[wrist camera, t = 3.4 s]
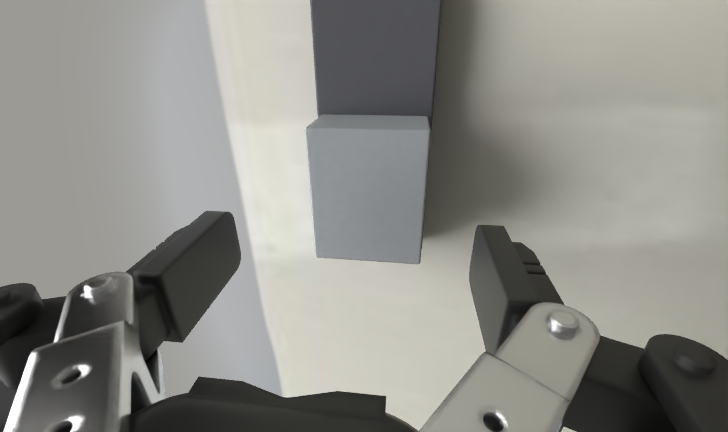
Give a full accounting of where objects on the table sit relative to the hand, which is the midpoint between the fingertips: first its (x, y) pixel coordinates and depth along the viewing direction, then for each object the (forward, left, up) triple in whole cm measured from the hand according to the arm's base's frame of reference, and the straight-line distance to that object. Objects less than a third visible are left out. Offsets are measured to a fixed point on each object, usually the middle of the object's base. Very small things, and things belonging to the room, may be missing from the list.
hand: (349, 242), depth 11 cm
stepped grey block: (-1, -1, -7) cm, 8 cm away
